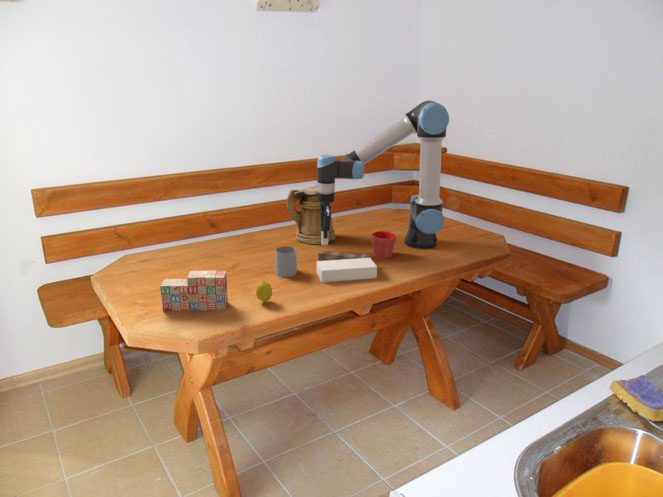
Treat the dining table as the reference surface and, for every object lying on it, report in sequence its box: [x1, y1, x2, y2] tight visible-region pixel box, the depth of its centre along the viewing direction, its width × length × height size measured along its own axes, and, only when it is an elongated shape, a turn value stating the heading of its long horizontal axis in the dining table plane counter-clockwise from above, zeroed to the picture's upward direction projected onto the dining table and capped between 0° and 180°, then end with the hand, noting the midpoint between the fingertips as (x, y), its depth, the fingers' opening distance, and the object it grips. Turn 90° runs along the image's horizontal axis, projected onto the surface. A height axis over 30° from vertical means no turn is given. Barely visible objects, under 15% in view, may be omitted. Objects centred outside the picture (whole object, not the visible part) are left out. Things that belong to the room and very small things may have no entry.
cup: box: [274, 245, 298, 278], centre depth 212 cm, size 8×8×10 cm
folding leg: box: [317, 249, 371, 261], centre depth 222 cm, size 22×4×5 cm, turn 72°
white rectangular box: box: [316, 257, 378, 284], centre depth 211 cm, size 22×10×5 cm, turn 102°
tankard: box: [286, 185, 336, 245], centre depth 248 cm, size 18×24×25 cm
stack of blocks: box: [159, 269, 229, 311], centre depth 183 cm, size 21×6×12 cm, turn 93°
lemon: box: [255, 281, 273, 303], centre depth 187 cm, size 6×6×8 cm
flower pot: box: [371, 230, 397, 259], centre depth 232 cm, size 11×11×10 cm
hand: (324, 244), depth 235 cm, fingers closed
